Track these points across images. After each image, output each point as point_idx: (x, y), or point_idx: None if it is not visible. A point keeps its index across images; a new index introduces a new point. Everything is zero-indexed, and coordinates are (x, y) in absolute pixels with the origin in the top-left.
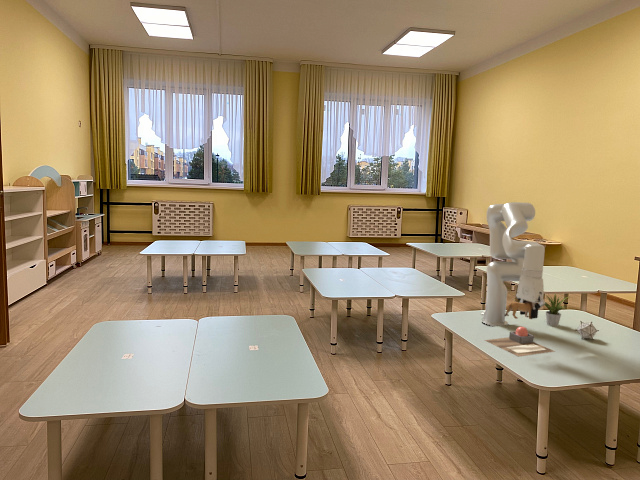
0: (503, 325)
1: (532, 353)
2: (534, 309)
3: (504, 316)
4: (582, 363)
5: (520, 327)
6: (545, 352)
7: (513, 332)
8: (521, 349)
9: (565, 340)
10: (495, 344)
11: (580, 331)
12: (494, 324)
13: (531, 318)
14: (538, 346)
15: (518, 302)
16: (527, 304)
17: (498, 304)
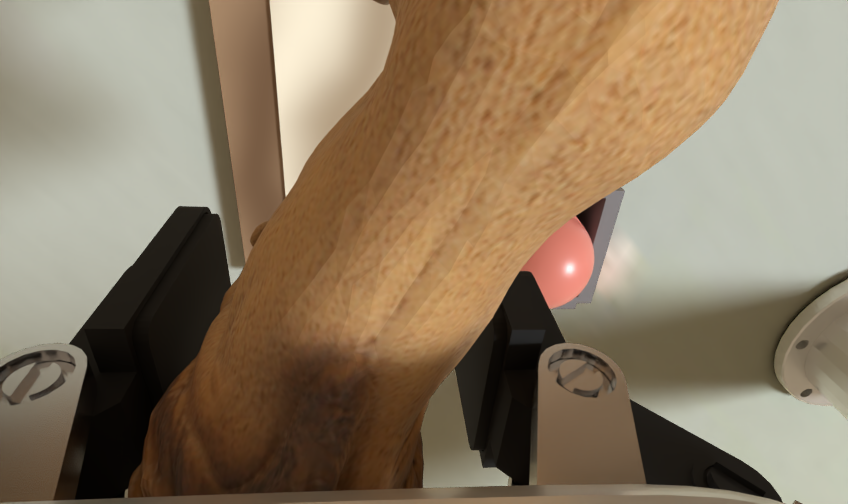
0: (788, 341)
1: (238, 60)
2: (30, 356)
3: (844, 404)
4: (60, 297)
5: (559, 265)
6: (240, 192)
7: (600, 216)
8: (343, 33)
9: (430, 468)
10: None
11: None
12: (844, 296)
13: (252, 244)
14: None
15: (497, 202)
16: (246, 390)
17: None
